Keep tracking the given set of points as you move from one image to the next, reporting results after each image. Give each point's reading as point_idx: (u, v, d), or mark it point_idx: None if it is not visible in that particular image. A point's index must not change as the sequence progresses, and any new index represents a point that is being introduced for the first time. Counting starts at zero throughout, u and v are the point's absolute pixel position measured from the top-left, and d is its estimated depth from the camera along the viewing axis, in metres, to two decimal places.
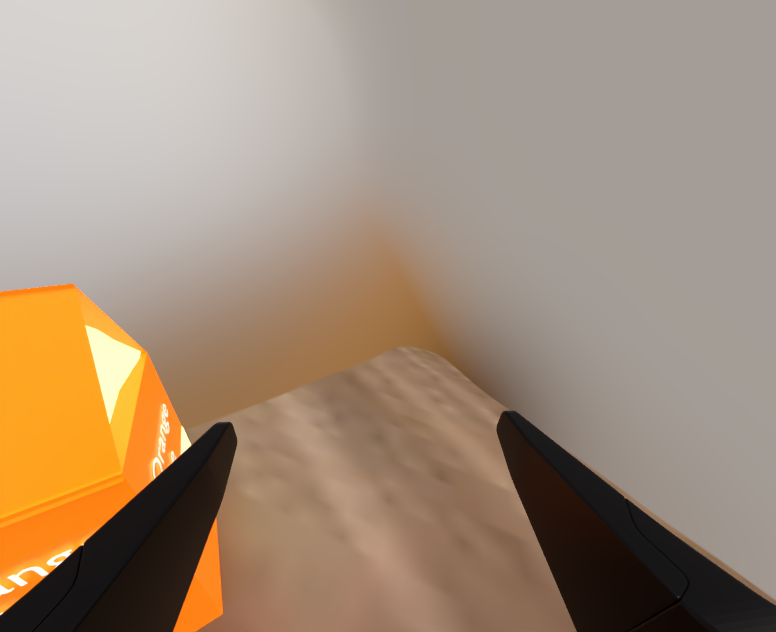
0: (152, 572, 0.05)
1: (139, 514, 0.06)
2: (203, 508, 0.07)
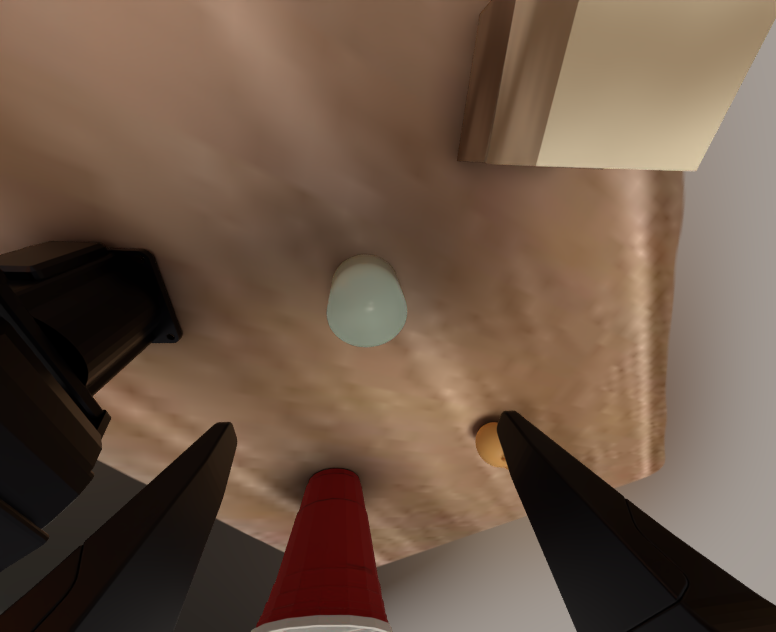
0: (152, 572, 0.05)
1: (139, 514, 0.06)
2: (203, 508, 0.07)
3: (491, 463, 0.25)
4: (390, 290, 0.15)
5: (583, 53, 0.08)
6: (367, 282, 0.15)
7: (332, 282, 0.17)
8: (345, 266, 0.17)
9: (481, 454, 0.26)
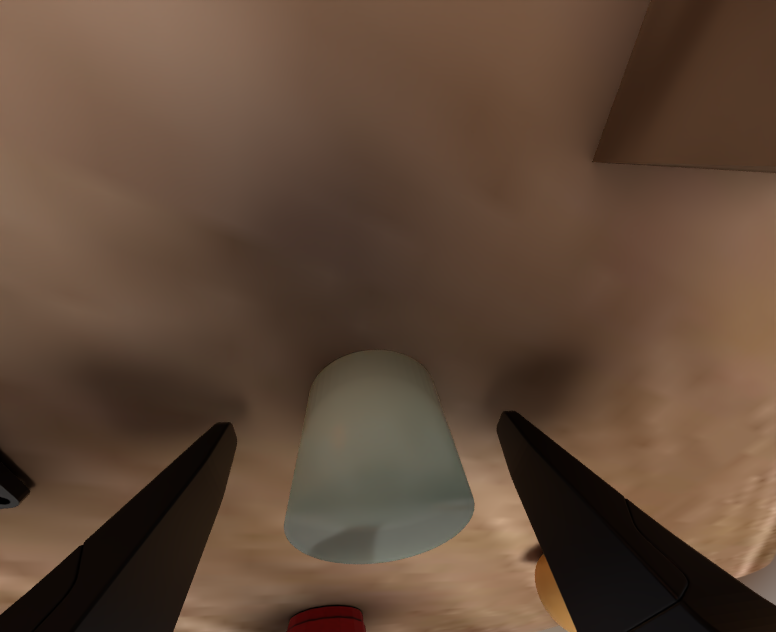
0: (152, 572, 0.05)
1: (139, 514, 0.06)
2: (203, 508, 0.07)
3: (566, 629, 0.16)
4: (439, 483, 0.06)
5: None
6: (384, 476, 0.06)
7: (305, 417, 0.08)
8: (332, 387, 0.08)
9: (549, 611, 0.17)
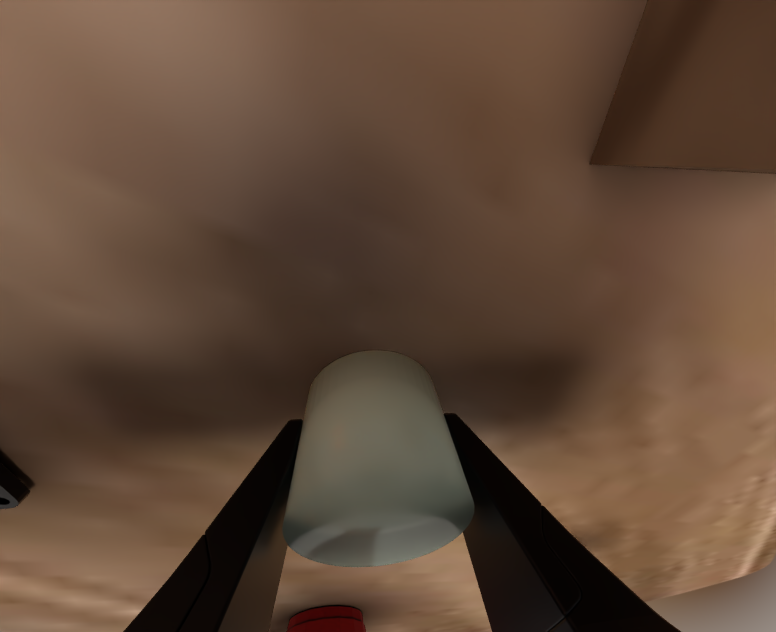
0: (263, 561, 0.06)
1: (248, 506, 0.06)
2: None
3: None
4: (439, 487, 0.06)
5: None
6: (383, 479, 0.06)
7: (304, 419, 0.08)
8: (331, 389, 0.08)
9: None
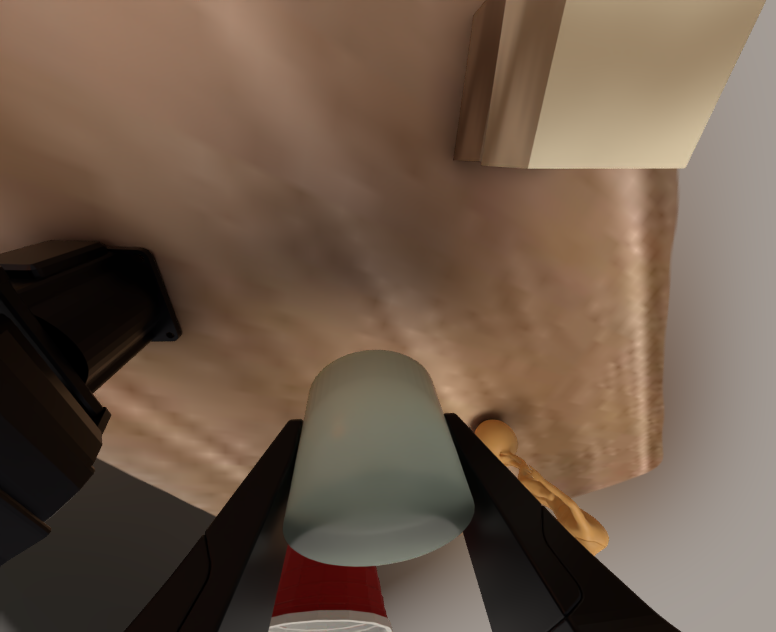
0: (263, 561, 0.06)
1: (248, 506, 0.06)
2: None
3: None
4: (439, 486, 0.06)
5: (570, 59, 0.08)
6: (383, 478, 0.06)
7: (305, 419, 0.08)
8: (332, 389, 0.08)
9: None
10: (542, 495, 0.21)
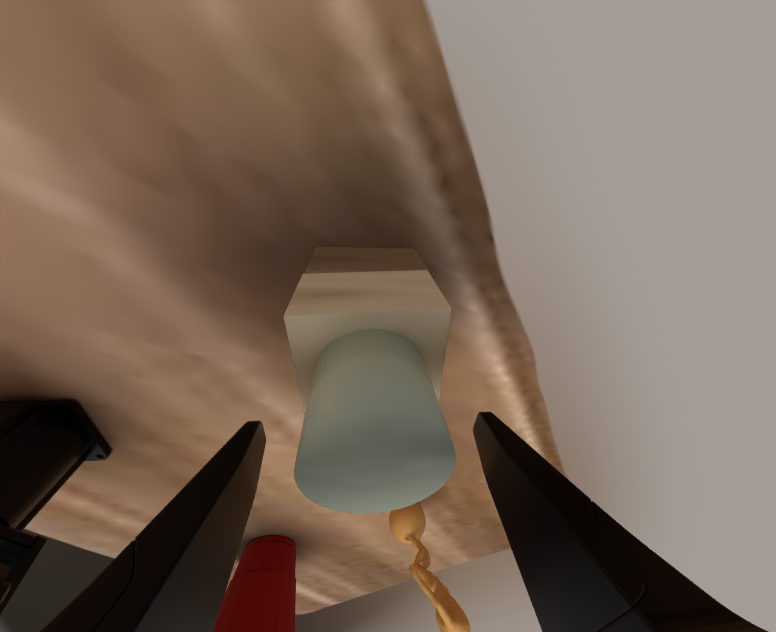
0: (199, 567, 0.06)
1: (185, 511, 0.06)
2: (239, 505, 0.07)
3: None
4: (425, 434, 0.07)
5: None
6: (377, 425, 0.07)
7: (311, 387, 0.09)
8: (334, 360, 0.09)
9: None
10: (427, 586, 0.24)
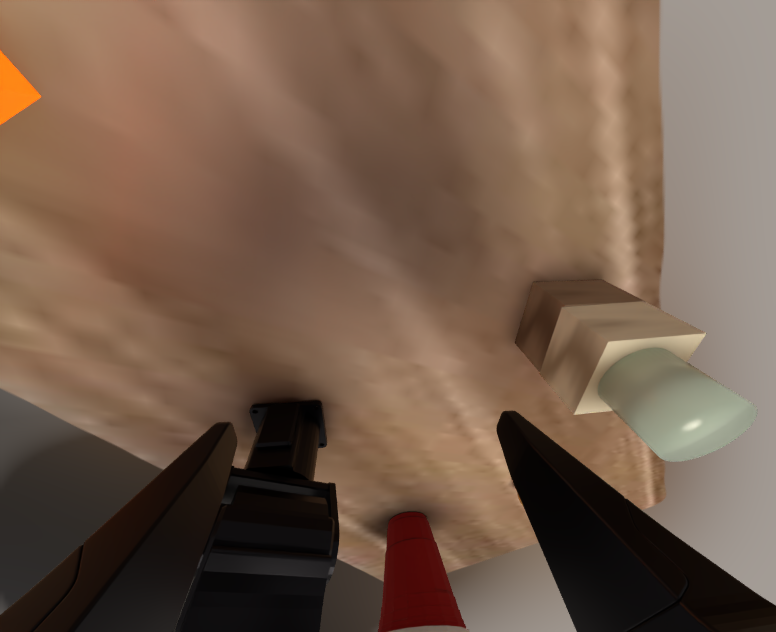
0: (152, 572, 0.05)
1: (139, 514, 0.06)
2: (203, 508, 0.07)
3: None
4: (748, 410, 0.13)
5: (596, 383, 0.17)
6: (730, 405, 0.13)
7: (630, 385, 0.15)
8: (650, 369, 0.15)
9: None
10: None
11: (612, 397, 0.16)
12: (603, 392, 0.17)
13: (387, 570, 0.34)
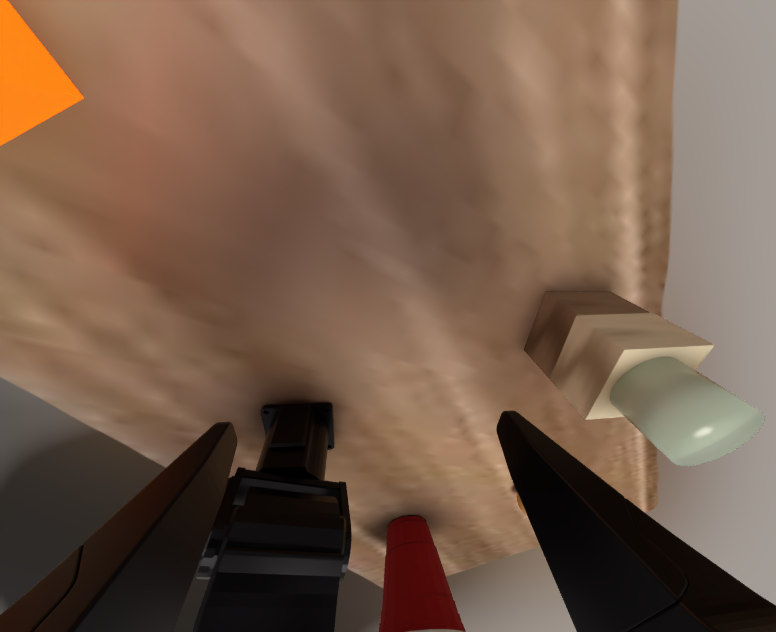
0: (152, 572, 0.05)
1: (139, 514, 0.06)
2: (203, 508, 0.07)
3: None
4: (757, 418, 0.14)
5: (609, 389, 0.18)
6: (742, 412, 0.13)
7: (644, 392, 0.16)
8: (664, 376, 0.15)
9: (522, 509, 0.36)
10: None
11: (625, 403, 0.17)
12: (616, 398, 0.17)
13: (387, 573, 0.34)
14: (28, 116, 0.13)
